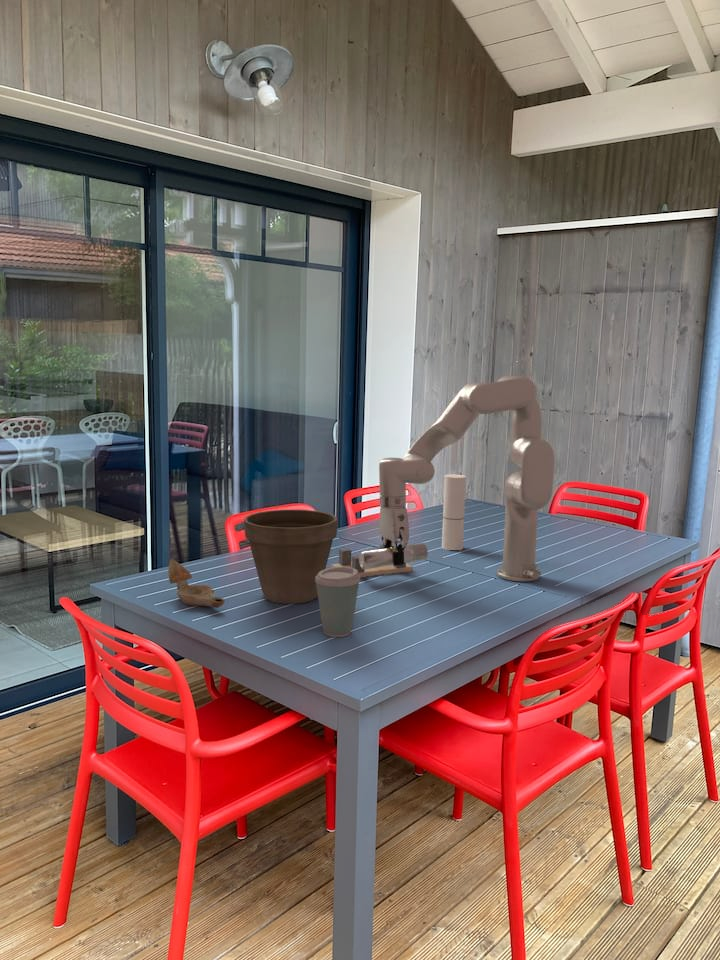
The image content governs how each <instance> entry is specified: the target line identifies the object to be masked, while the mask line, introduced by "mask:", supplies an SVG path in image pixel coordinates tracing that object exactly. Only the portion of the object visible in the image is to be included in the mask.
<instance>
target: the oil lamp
mask: <svg viewBox="0 0 720 960" xmlns="http://www.w3.org/2000/svg"><path fill="white" fill-rule="evenodd" d="M167 571H168V572H167V573H168V582H169V584H176V587H177V596H178V599H179V600H180V601H181V602H183V604H184V605H186V604H187V605H186V606H190V605H193V607H194V606H195V607H197V606H198V607H199V606H202V607H211V608H215V609H217V608H220V607H222V606H223V605H224V604H225V602H226V599H225V598H223V597H220V596H217V595H216V596H215V595H214V592H215V589H212V587H211V586H209V585H205V584H193V585H189V583H188V580H189V579H192V578H193V576H192V574H191V572H190V571H189V570H188V569H187V568H186V567H184V566H183V565H182V563H181V564H180V563H179V562H178V561H176V560H175V559H174V558H171V559H170V560H169V564H168V570H167Z"/></svg>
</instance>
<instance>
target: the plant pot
mask: <svg viewBox="0 0 720 960" xmlns="http://www.w3.org/2000/svg"><path fill="white" fill-rule="evenodd" d="M243 525H244V526H243V527H244V537H245V539H246V540H248V542H249V546H250V550H251V554H252V558H253V561H254V566H255V569H256V572H257V576H258V581H259V585H260V587H261V591H262V594H263V597H264V598H265V599H266V600H267V601H270V602H273V603H276V604H282V605H283V604H286V605H292V604H293V605H296V604H303V603H304V604H305V603H307V602H312V601H313V600H315V599H317V598H318V593H317V587H316V582H315V577H316V576H317V574H318V573H319V572H320V571H322V570H324V569H327V565H328V562H329V561H328V560H329V558H330V557H329V556H330V553H331V549H332V545H333V541H334V539H335V538H336V537H337V535H338V517H337V516H335V514H332V513H328V512H324V511H318V510H311V509H309V510H308V509H307V510H306V509H275V510H274V509H273V510H266V511H265V510H264V511H258V512H253V513H251V514H248V515H246V516H245V517H244V518H243Z"/></svg>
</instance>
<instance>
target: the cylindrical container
mask: <svg viewBox="0 0 720 960" xmlns="http://www.w3.org/2000/svg"><path fill="white" fill-rule="evenodd" d="M466 485H467V476H466V475H463V474H453V473H451V474H450V473H449V474H445V475H444V483H443V486H444V488H443V506H442V507H443V509H442V510H443V512H442V534H441V536H442V537H441V549H442V548H443V549H442V550H444V549H445V551H449V550H459V551H462V550H463V549H464V531H465V529H464V527H465V511H466V510H465V507H466V505H465V504H466ZM461 549H462V550H461Z"/></svg>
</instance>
